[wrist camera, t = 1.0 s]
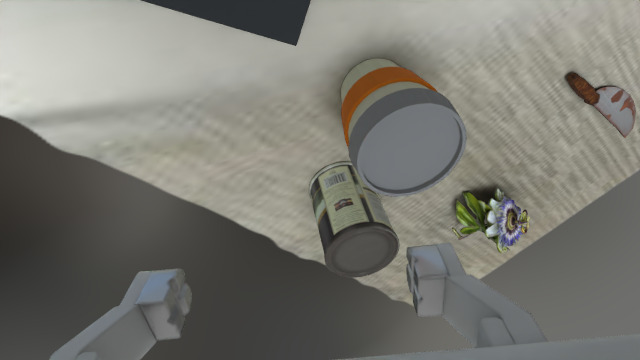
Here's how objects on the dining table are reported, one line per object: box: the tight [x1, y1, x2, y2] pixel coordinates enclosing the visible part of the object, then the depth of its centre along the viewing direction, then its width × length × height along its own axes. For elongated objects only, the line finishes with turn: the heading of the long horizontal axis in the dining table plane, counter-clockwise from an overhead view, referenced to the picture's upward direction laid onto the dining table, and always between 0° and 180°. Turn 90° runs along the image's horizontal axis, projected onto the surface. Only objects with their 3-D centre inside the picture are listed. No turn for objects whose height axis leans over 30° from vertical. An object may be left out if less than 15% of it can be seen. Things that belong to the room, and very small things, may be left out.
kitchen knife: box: [567, 73, 636, 138], centre depth 60 cm, size 21×2×5 cm
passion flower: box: [452, 189, 530, 253], centre depth 69 cm, size 11×11×12 cm
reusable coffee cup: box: [341, 58, 466, 197], centre depth 46 cm, size 13×12×15 cm
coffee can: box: [309, 162, 400, 277], centre depth 57 cm, size 10×10×14 cm
